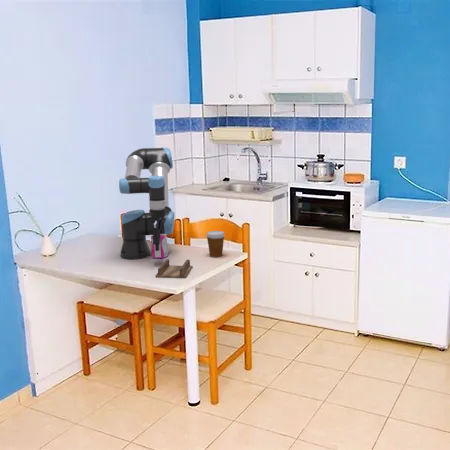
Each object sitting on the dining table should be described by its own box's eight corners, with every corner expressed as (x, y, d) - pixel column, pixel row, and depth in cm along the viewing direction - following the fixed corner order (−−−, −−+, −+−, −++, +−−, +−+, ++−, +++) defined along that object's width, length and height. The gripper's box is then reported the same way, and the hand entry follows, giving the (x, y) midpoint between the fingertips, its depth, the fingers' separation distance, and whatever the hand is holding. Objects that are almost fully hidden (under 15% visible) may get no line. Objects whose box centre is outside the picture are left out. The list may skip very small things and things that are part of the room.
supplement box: (157, 255, 279) (156, 233, 277) (168, 256, 277) (167, 234, 274) (151, 258, 274) (150, 235, 271) (162, 259, 272) (161, 236, 269)
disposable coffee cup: (218, 259, 282) (218, 235, 280) (203, 256, 287) (202, 233, 285) (228, 254, 290) (228, 231, 288) (213, 252, 295) (212, 229, 293)
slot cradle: (155, 277, 255) (155, 269, 254) (163, 267, 270) (163, 259, 270) (185, 278, 253) (185, 269, 252) (192, 267, 268) (192, 259, 268)
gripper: (160, 212, 260) (162, 260, 265) (169, 204, 279) (171, 249, 284) (144, 212, 261) (147, 260, 266) (155, 204, 280) (157, 248, 285)
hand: (159, 254), depth 275 cm, fingers closed on supplement box, 7 cm apart
